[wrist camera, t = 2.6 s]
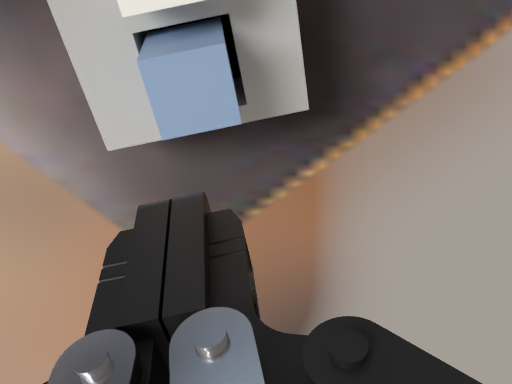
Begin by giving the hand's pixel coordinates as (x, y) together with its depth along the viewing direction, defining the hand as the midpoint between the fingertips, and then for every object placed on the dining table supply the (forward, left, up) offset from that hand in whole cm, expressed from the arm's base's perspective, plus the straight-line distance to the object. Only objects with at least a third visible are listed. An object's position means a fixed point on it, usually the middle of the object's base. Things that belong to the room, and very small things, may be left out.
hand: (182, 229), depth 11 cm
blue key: (0, 0, -13) cm, 13 cm away
